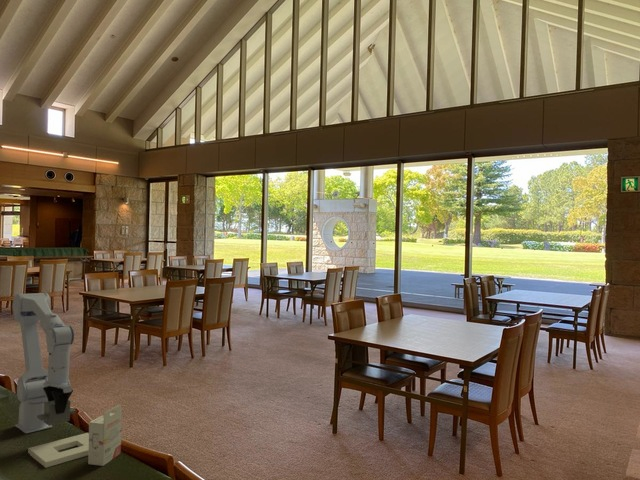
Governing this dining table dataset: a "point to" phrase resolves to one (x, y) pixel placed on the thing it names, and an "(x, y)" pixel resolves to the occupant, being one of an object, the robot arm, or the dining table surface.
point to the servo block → (50, 413)
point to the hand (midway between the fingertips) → (57, 411)
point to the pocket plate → (50, 454)
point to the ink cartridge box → (105, 437)
